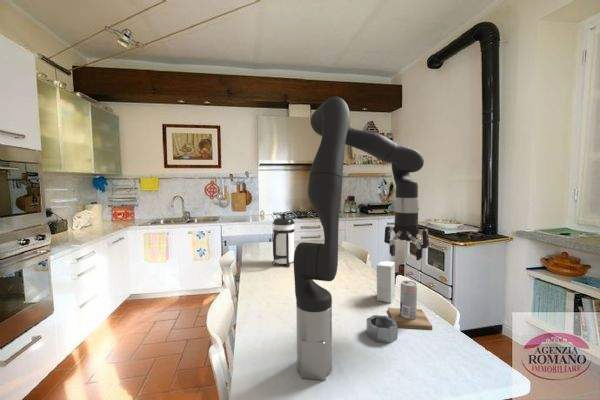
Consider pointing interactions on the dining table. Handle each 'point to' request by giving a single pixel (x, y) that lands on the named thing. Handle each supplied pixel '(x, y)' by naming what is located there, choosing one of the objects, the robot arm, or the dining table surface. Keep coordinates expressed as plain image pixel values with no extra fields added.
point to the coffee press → (283, 240)
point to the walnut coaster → (418, 322)
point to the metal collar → (382, 329)
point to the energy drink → (408, 300)
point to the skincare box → (386, 281)
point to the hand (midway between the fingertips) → (405, 257)
